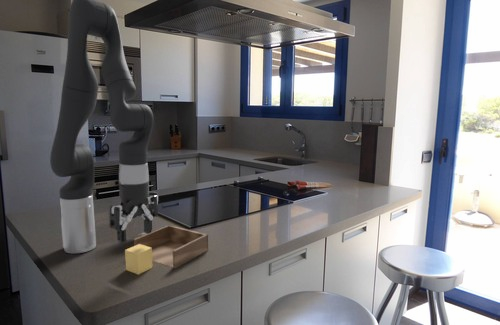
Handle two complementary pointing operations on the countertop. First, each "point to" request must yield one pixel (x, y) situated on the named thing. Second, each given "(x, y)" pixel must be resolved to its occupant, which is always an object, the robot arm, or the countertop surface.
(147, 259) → the block
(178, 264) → the box
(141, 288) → the countertop surface
